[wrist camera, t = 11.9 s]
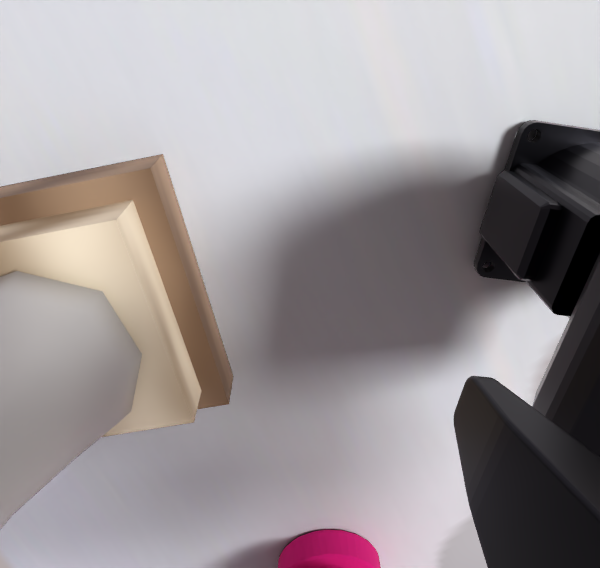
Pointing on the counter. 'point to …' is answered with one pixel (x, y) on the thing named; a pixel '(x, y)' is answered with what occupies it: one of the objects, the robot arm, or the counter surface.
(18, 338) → the flask
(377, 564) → the pepper mill
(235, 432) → the counter surface
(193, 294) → the tower base
